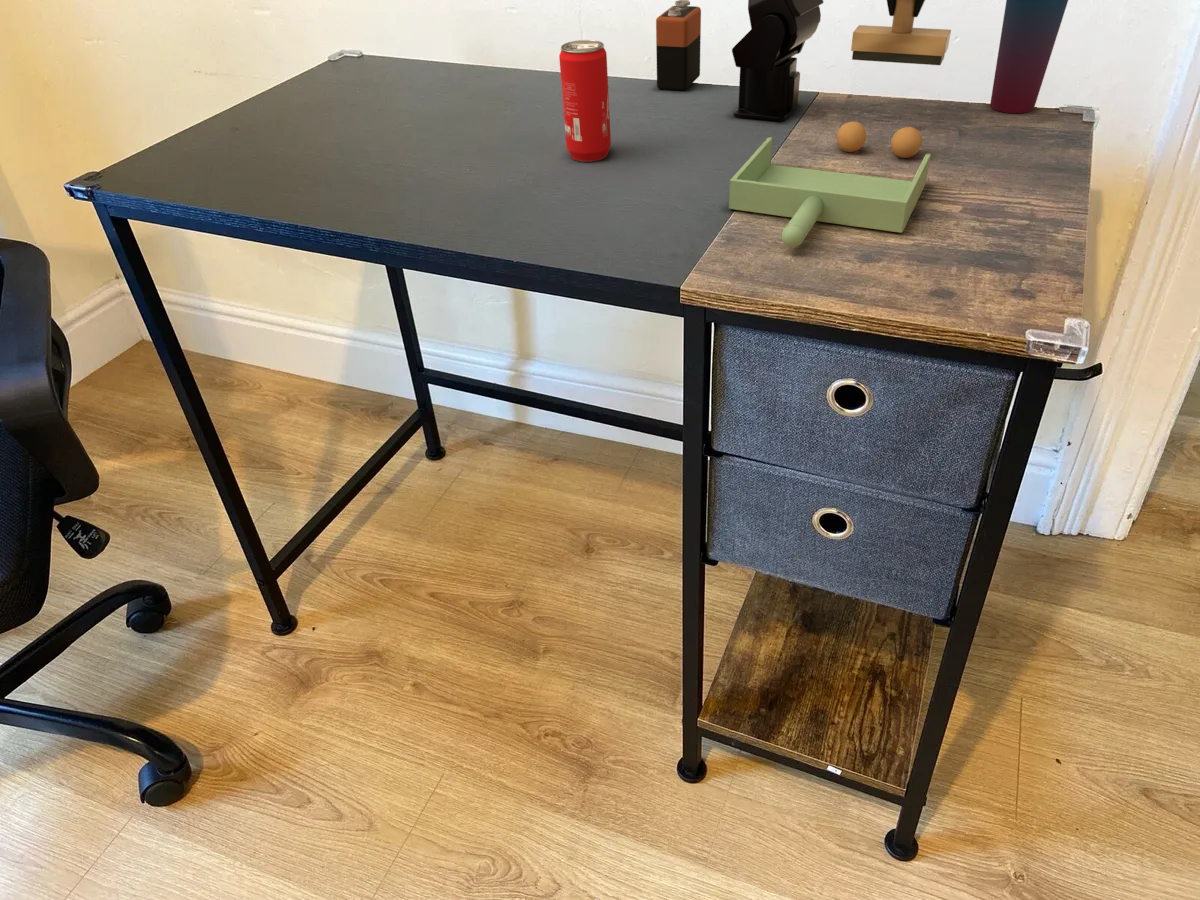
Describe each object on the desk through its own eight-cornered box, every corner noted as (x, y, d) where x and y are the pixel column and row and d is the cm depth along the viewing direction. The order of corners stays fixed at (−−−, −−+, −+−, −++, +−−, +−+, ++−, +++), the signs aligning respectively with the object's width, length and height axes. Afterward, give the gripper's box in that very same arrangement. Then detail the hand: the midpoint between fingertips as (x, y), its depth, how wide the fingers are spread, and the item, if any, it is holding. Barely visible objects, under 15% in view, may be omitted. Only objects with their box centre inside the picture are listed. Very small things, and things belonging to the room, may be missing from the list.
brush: (849, 60, 99) (859, -29, 93) (855, 52, 101) (865, -35, 95) (942, 66, 95) (958, -26, 90) (946, 58, 98) (962, -33, 92)
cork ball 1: (831, 154, 99) (835, 125, 97) (839, 144, 101) (842, 116, 99) (860, 157, 97) (864, 128, 95) (867, 147, 100) (871, 118, 98)
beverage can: (568, 147, 105) (560, 40, 97) (611, 145, 104) (606, 38, 97) (565, 164, 101) (556, 53, 93) (610, 162, 100) (605, 51, 93)
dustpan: (766, 165, 97) (768, 136, 95) (925, 184, 91) (930, 154, 89) (700, 244, 83) (701, 212, 81) (882, 273, 77) (888, 239, 75)
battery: (700, 76, 123) (702, -2, 117) (686, 91, 119) (686, 11, 112) (671, 75, 125) (671, -3, 119) (655, 89, 120) (654, 10, 114)
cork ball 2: (886, 160, 96) (890, 131, 94) (892, 150, 99) (896, 121, 96) (916, 163, 95) (921, 134, 93) (921, 153, 97) (926, 124, 95)
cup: (1046, 116, 104) (1083, -25, 94) (986, 115, 105) (1016, -24, 96) (1036, 97, 109) (1070, -38, 100) (978, 97, 110) (1007, -37, 101)
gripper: (813, -146, 83) (799, 30, 93) (1025, -150, 77) (986, 40, 87) (840, -159, 91) (825, 5, 101) (1035, -164, 84) (998, 12, 94)
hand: (903, 15), depth 95 cm, fingers closed on brush, 2 cm apart
